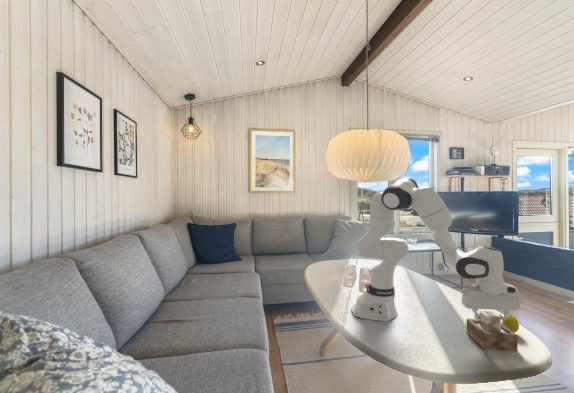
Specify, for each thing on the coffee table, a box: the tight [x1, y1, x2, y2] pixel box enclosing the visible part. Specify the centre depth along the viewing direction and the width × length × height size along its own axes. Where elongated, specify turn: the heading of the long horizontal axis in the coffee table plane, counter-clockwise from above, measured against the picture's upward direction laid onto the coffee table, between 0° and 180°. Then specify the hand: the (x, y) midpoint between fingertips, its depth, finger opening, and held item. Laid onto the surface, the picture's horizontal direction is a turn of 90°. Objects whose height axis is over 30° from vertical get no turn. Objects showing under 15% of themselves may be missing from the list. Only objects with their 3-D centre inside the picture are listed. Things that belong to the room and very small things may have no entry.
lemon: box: [501, 314, 520, 333], centre depth 112 cm, size 6×6×8 cm
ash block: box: [479, 310, 502, 332], centre depth 106 cm, size 5×5×6 cm
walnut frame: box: [466, 318, 518, 352], centre depth 106 cm, size 12×12×6 cm
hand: (490, 318), depth 106 cm, fingers open, 8 cm apart
